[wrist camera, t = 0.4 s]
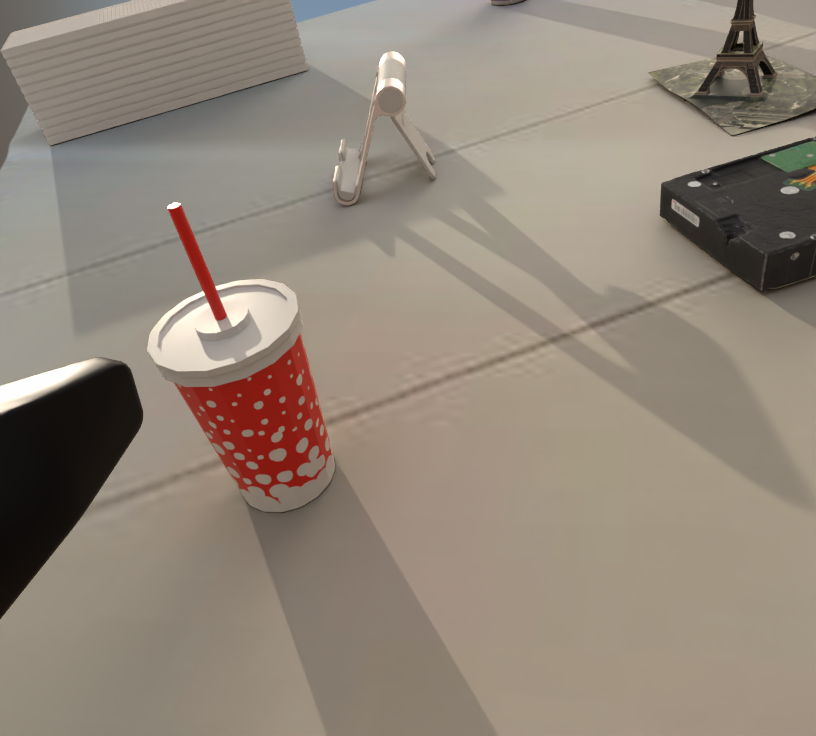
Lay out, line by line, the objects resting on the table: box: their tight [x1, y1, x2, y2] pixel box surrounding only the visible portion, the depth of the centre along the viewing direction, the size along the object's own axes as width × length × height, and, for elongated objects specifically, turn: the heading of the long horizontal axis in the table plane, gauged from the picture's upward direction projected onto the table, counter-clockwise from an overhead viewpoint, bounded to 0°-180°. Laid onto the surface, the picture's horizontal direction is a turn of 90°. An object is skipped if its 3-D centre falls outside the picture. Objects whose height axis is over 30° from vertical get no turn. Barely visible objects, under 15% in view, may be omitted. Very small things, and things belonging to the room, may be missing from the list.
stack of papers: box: [1, 0, 308, 146], centre depth 85 cm, size 32×11×11 cm, turn 110°
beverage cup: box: [147, 203, 335, 512], centre depth 29 cm, size 6×6×14 cm
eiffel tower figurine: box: [649, 0, 816, 136], centre depth 54 cm, size 15×10×13 cm
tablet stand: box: [333, 52, 436, 205], centre depth 55 cm, size 9×8×8 cm
